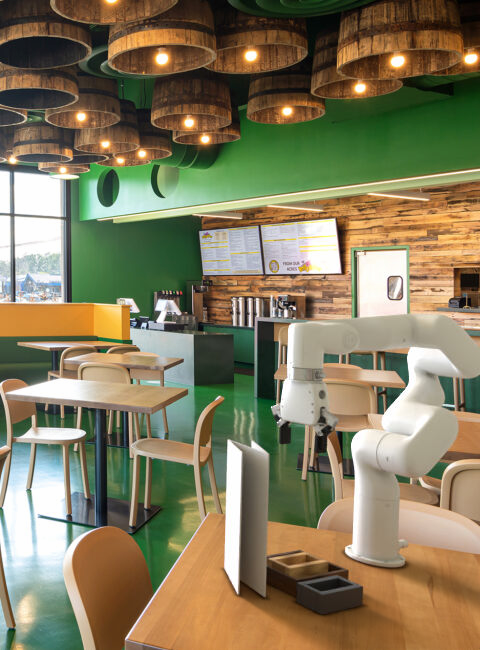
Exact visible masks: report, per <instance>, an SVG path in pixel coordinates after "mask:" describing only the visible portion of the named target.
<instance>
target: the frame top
mask: <svg viewBox="0 0 480 650" xmlns="http://www.w3.org/2000/svg"><path fill="white" fill-rule="evenodd" d="M328 562H329V561H328V560H326V559H323V558H322V557H319V556H316V555H315V554H312V553H309V552H307V551H304V552H302V553H296V554H290V555H284V556H279V557H273V558H268V559H267V565H268V566H270V567H273V568H275V569H277V570H279V571H281V572H283V573H286V574H288V575H290V576H292V577H294V578H301V577H306V576H311V575H316V574H321V573H326V572H328Z"/></svg>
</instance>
